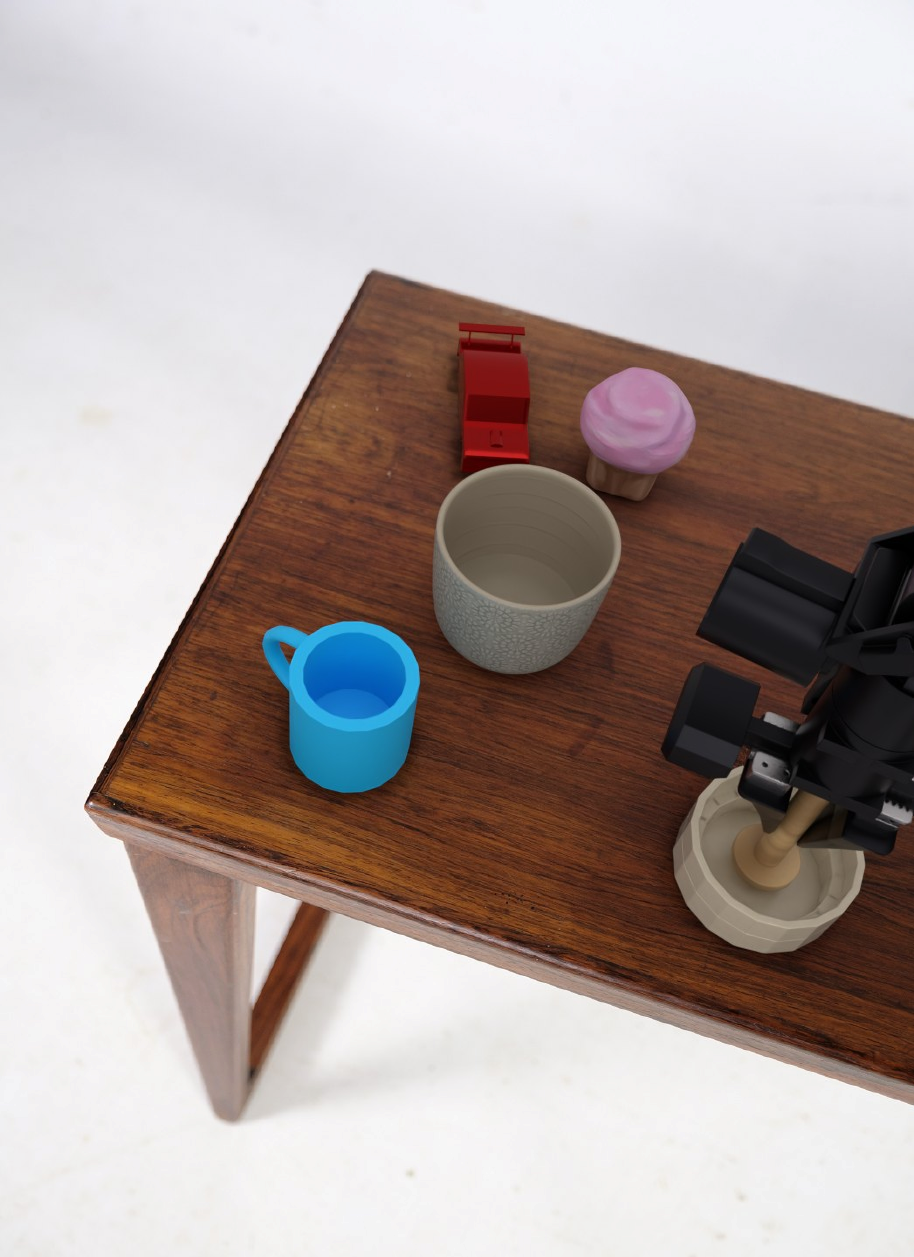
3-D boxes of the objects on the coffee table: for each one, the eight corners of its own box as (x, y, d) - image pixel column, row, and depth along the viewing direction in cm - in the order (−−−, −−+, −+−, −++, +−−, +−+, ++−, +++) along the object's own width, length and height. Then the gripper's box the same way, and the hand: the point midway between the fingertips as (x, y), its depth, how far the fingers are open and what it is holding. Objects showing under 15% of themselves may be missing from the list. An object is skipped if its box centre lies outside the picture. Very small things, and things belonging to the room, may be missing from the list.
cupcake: (556, 503, 95) (581, 414, 87) (575, 428, 100) (600, 337, 92) (665, 531, 95) (700, 444, 87) (678, 454, 100) (712, 365, 92)
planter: (621, 629, 89) (658, 537, 80) (514, 730, 83) (541, 643, 74) (497, 533, 93) (519, 435, 84) (386, 623, 87) (397, 528, 78)
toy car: (453, 357, 103) (460, 313, 99) (517, 362, 104) (526, 318, 100) (457, 480, 95) (465, 437, 91) (526, 483, 96) (536, 441, 92)
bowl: (849, 837, 81) (879, 804, 77) (814, 985, 75) (844, 958, 71) (697, 773, 83) (718, 738, 79) (649, 913, 76) (670, 883, 72)
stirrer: (803, 844, 78) (868, 766, 69) (788, 902, 75) (853, 830, 67) (739, 817, 78) (796, 737, 70) (722, 874, 76) (778, 798, 67)
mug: (434, 737, 82) (446, 673, 75) (352, 816, 78) (358, 756, 71) (307, 635, 85) (309, 566, 79) (223, 706, 81) (217, 639, 75)
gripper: (1082, 654, 64) (951, 787, 77) (751, 528, 67) (678, 676, 79) (1061, 826, 58) (922, 939, 71) (697, 679, 60) (627, 814, 73)
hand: (784, 833), depth 74 cm, fingers closed on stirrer, 2 cm apart
